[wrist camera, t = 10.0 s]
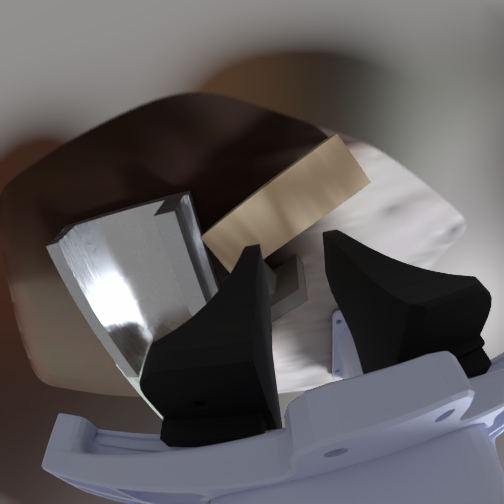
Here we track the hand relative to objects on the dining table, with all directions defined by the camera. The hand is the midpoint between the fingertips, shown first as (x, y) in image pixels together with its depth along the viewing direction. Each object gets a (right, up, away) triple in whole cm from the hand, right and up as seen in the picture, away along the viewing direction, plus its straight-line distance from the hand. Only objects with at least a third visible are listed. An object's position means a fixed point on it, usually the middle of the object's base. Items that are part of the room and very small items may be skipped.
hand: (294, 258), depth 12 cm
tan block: (-3, -1, +6) cm, 6 cm away
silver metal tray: (-9, -2, +9) cm, 13 cm away
